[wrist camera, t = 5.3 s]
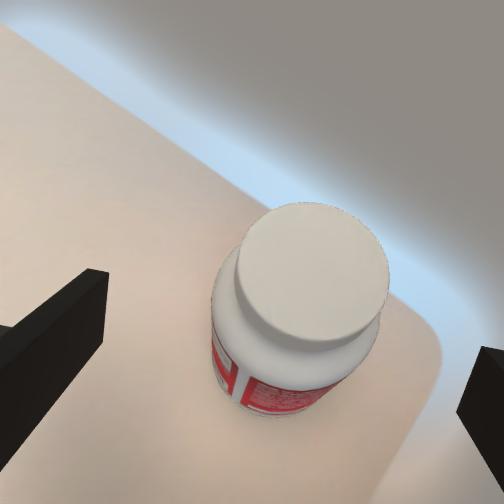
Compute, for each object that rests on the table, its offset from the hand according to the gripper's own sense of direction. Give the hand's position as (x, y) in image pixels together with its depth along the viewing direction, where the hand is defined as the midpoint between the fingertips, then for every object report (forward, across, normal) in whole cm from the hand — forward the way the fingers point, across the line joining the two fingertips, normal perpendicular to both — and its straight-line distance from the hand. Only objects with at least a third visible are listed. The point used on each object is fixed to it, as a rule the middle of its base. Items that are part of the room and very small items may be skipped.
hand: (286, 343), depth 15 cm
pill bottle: (+7, 0, -5) cm, 8 cm away
